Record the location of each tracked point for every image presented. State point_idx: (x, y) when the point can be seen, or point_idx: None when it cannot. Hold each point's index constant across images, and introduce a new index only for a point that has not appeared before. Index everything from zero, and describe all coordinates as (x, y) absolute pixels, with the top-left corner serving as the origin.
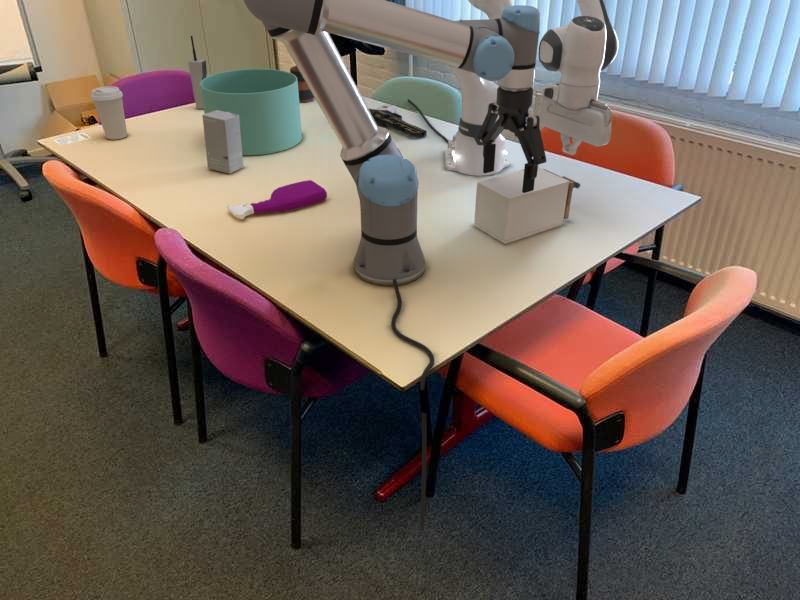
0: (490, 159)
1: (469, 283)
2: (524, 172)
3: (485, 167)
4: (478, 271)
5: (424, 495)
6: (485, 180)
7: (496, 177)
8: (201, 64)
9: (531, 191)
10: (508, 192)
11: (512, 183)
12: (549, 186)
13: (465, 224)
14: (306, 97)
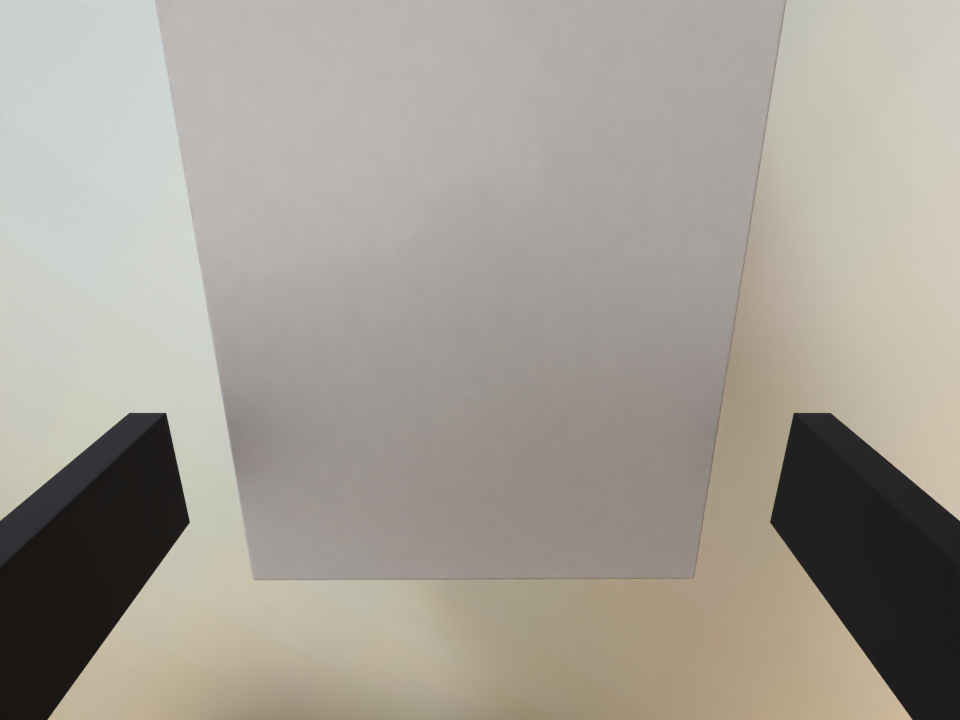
0: (87, 570)
1: (747, 687)
2: (916, 711)
3: (154, 566)
4: (707, 620)
5: None
6: (258, 509)
7: (238, 384)
8: None
9: (720, 329)
10: (593, 510)
11: (451, 351)
12: (769, 48)
13: None
14: None
